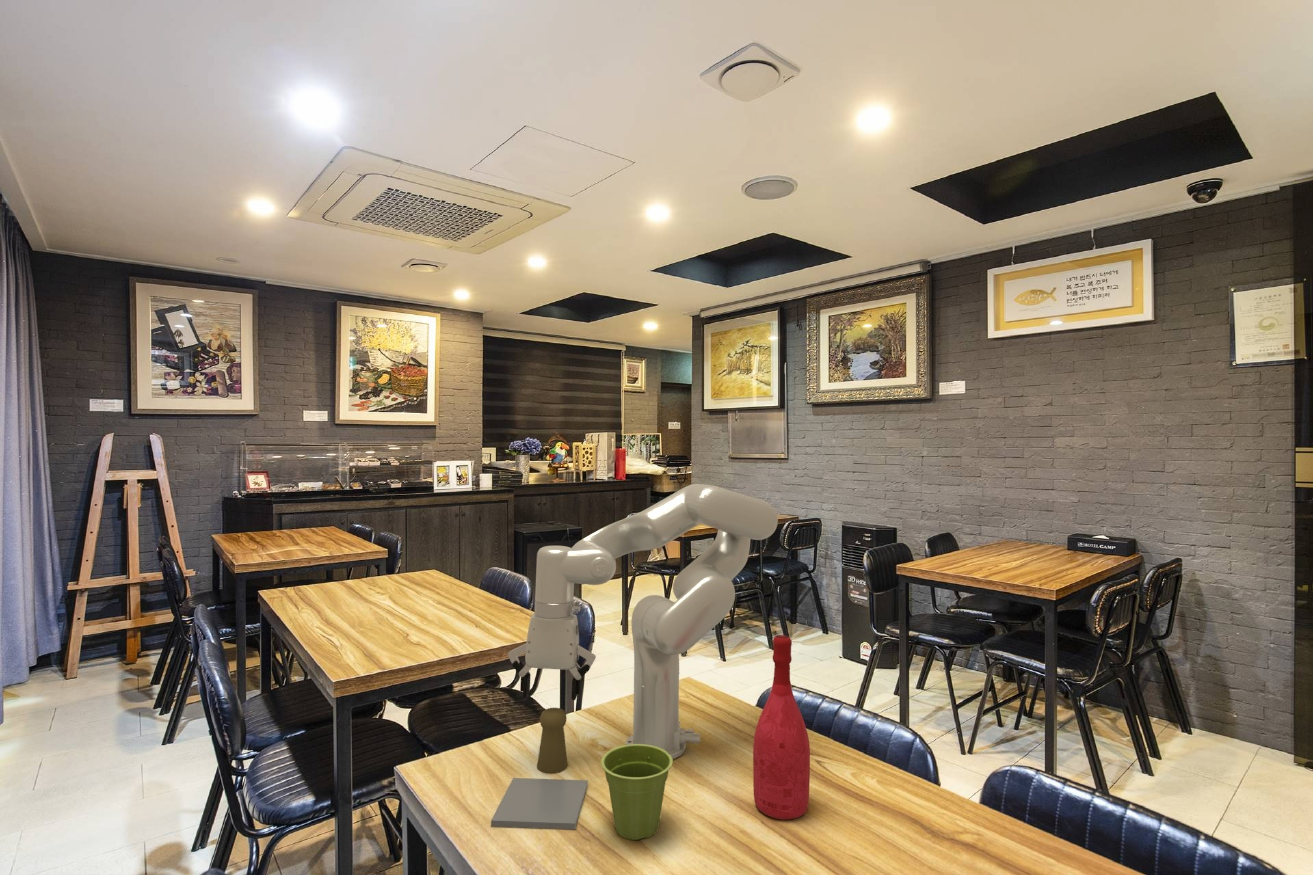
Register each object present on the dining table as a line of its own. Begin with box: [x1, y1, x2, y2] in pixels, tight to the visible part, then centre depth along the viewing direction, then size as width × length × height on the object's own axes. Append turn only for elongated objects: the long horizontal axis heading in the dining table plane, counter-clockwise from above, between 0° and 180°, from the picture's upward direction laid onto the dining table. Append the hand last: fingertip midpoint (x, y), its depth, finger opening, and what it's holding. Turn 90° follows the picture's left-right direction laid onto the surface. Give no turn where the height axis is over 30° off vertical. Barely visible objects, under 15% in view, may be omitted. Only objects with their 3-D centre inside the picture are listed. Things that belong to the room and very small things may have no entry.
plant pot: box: [600, 744, 674, 841], centre depth 107 cm, size 12×12×11 cm
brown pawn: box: [536, 707, 569, 775], centre depth 128 cm, size 6×6×11 cm
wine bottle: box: [752, 634, 811, 820], centre depth 114 cm, size 10×10×30 cm
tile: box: [490, 777, 589, 831], centre depth 114 cm, size 14×14×1 cm
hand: (550, 696), depth 128 cm, fingers open, 9 cm apart
